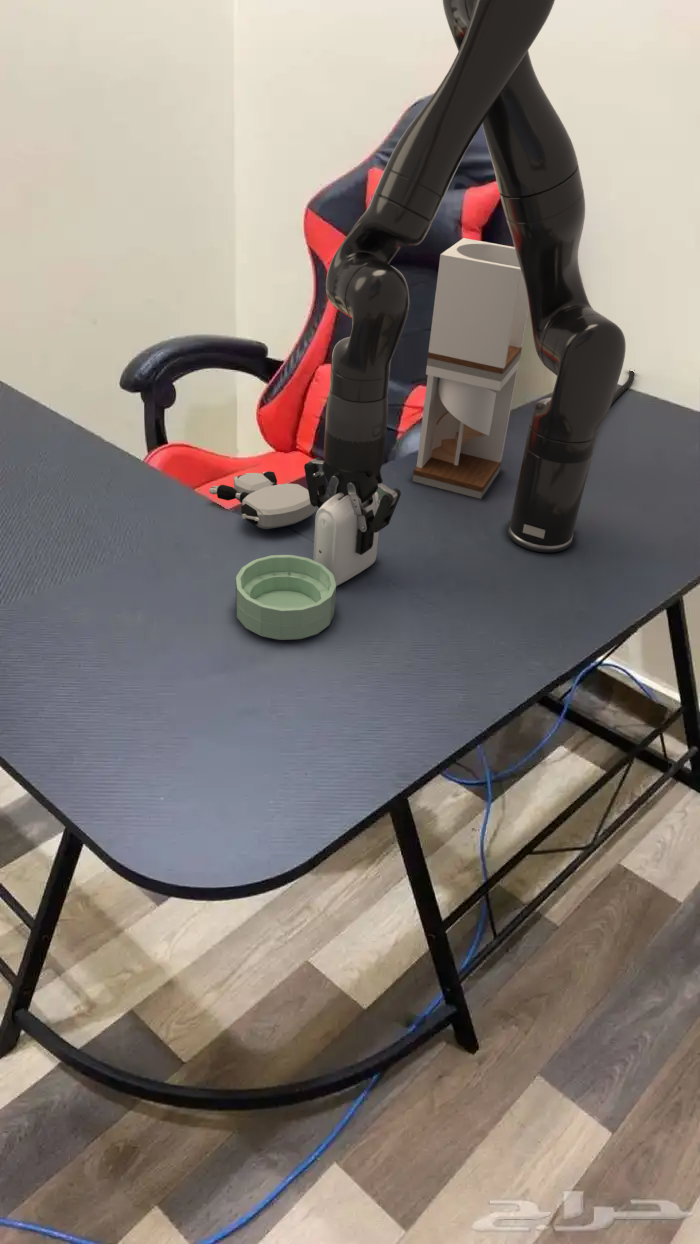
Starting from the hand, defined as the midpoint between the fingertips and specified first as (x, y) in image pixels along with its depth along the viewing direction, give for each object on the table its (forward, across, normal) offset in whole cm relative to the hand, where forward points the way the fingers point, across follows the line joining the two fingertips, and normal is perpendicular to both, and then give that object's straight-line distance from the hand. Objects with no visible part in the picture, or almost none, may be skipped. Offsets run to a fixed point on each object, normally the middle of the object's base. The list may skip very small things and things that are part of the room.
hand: (346, 544), depth 126 cm
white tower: (+5, +3, -35) cm, 35 cm away
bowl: (+4, 0, +13) cm, 14 cm away
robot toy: (+5, +18, -5) cm, 19 cm away
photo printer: (+5, 0, 0) cm, 5 cm away
